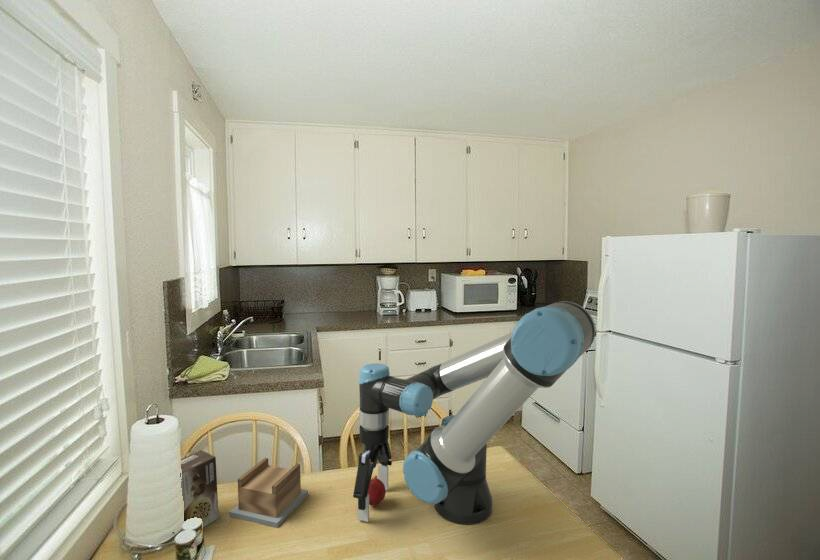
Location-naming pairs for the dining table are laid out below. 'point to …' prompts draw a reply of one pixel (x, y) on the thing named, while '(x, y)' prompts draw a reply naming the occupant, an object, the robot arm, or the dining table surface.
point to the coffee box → (199, 487)
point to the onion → (376, 491)
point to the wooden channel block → (268, 489)
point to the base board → (266, 519)
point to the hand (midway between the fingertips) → (373, 503)
